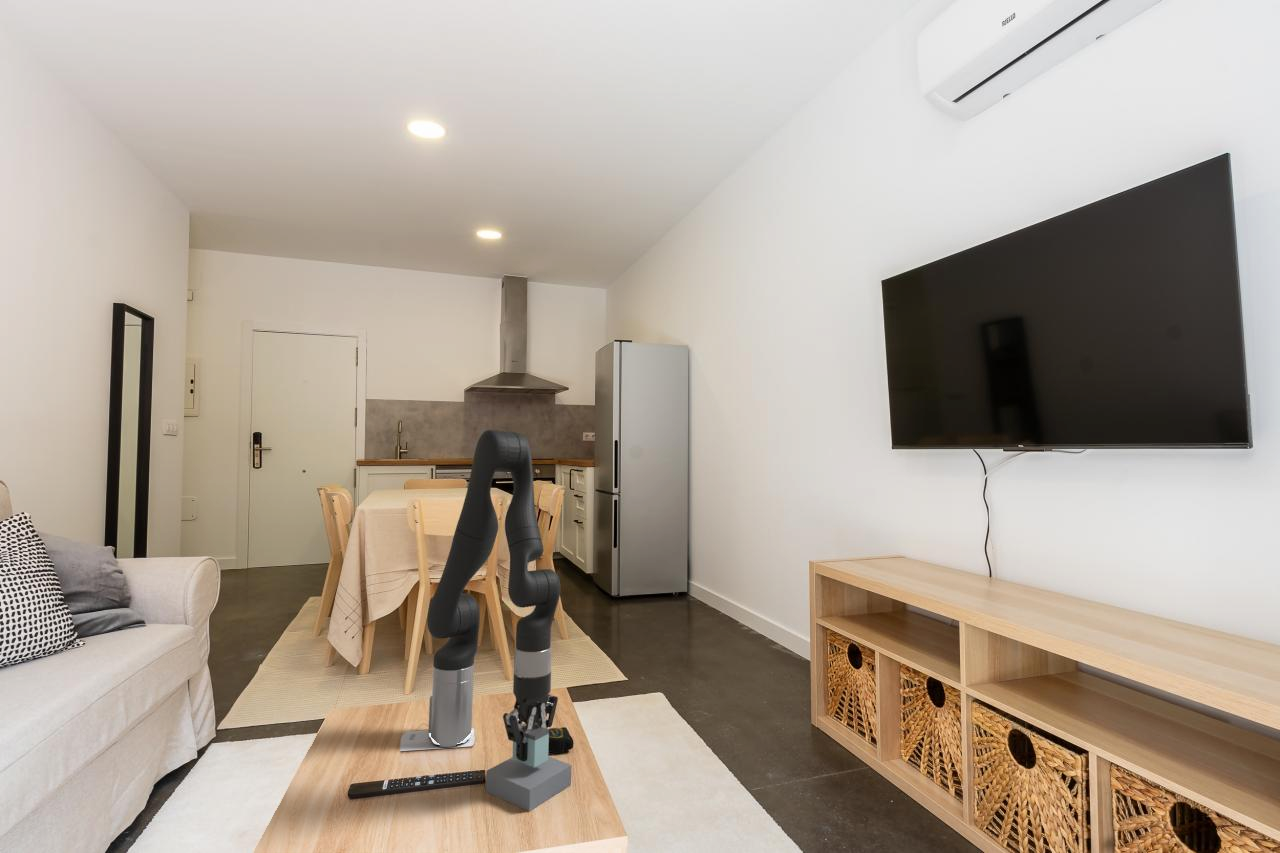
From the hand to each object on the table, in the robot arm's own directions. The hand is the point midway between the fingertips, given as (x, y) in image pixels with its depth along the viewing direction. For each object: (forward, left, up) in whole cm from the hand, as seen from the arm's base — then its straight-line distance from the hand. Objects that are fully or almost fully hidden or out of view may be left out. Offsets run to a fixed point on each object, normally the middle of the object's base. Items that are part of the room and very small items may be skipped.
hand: (530, 755), depth 128 cm
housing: (0, 0, -1) cm, 1 cm away
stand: (0, 0, -7) cm, 7 cm away
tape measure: (-7, +17, -7) cm, 20 cm away
